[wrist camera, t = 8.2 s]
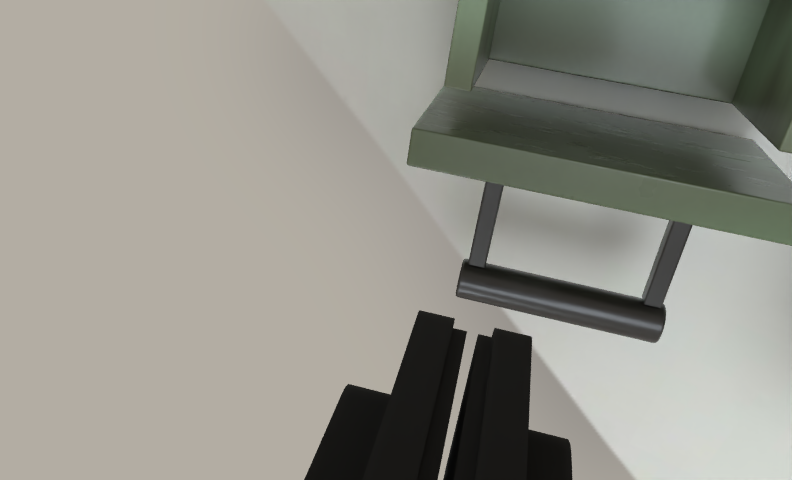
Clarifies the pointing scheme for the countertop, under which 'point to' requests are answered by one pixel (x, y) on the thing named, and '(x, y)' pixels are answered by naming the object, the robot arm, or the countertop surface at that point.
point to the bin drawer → (615, 134)
